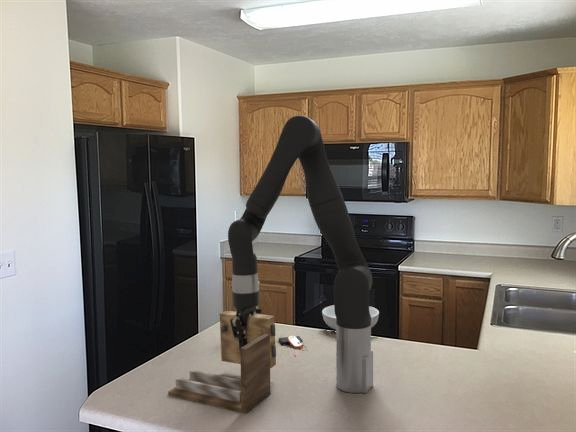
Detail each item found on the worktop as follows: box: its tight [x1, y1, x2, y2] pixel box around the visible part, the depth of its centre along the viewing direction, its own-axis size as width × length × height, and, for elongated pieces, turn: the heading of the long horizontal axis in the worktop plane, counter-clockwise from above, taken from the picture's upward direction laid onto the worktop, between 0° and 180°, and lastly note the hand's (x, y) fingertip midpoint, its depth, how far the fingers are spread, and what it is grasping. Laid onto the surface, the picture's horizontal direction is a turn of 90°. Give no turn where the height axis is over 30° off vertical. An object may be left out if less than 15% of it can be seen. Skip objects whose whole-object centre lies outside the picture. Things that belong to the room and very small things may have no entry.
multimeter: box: [278, 334, 308, 358], centre depth 170 cm, size 18×12×3 cm, turn 10°
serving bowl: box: [321, 304, 380, 331], centre depth 190 cm, size 21×21×7 cm
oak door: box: [219, 310, 277, 370], centre depth 145 cm, size 17×5×14 cm, turn 64°
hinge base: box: [167, 334, 271, 414], centre depth 134 cm, size 24×12×16 cm, turn 63°
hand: (247, 348), depth 146 cm, fingers closed on oak door, 4 cm apart
